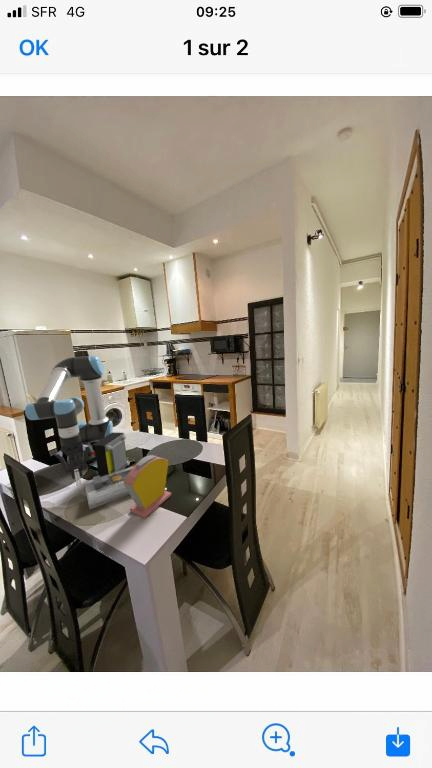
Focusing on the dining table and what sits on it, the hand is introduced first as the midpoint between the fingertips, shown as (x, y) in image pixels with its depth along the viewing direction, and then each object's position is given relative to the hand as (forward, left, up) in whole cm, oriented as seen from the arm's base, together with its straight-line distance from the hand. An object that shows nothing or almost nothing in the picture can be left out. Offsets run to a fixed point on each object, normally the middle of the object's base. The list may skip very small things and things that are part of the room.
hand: (78, 483), depth 112 cm
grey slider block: (+1, +9, -5) cm, 10 cm away
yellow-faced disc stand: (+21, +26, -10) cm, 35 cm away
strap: (+1, +17, -5) cm, 18 cm away
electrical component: (-19, +18, -10) cm, 28 cm away
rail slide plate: (+1, +15, -9) cm, 18 cm away
